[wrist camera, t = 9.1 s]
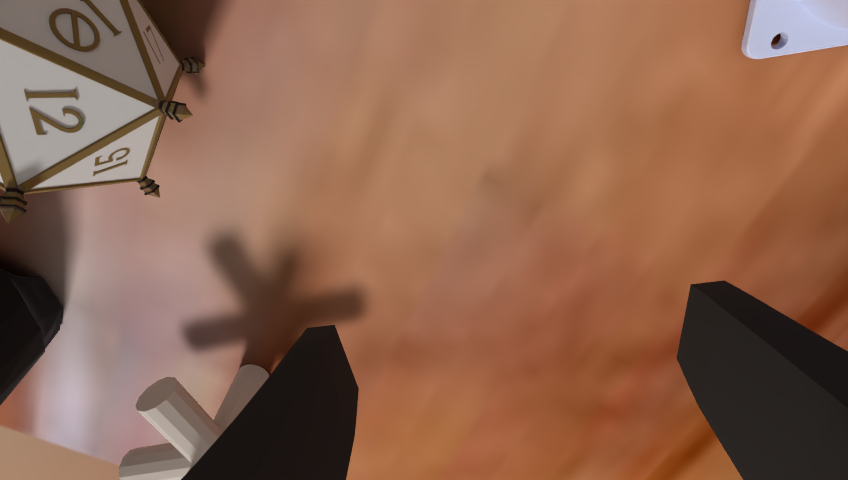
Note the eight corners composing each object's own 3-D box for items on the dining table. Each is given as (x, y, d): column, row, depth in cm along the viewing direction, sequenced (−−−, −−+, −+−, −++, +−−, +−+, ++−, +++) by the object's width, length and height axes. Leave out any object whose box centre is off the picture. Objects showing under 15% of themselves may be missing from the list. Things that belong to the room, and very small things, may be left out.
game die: (134, 43, 20) (-249, 41, 12) (172, -146, 14) (-521, -356, 7) (228, 215, 19) (-113, 314, 12) (309, 98, 13) (-269, 158, 6)
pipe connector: (291, 295, 22) (200, 496, 14) (362, 413, 28) (325, 611, 19) (131, 331, 24) (-33, 526, 16) (224, 434, 29) (137, 624, 21)
